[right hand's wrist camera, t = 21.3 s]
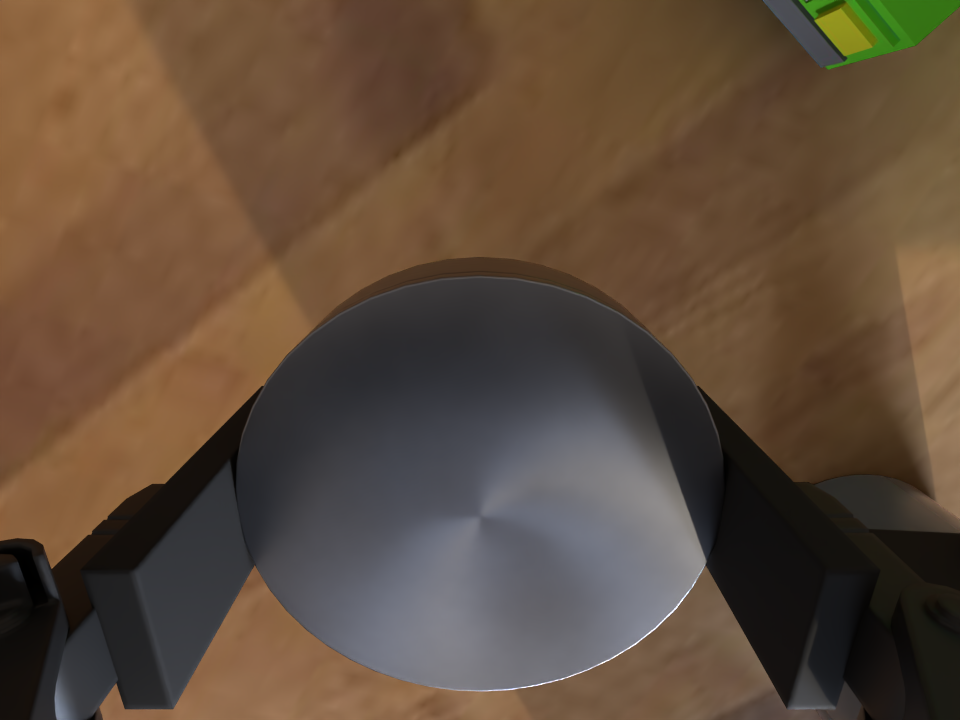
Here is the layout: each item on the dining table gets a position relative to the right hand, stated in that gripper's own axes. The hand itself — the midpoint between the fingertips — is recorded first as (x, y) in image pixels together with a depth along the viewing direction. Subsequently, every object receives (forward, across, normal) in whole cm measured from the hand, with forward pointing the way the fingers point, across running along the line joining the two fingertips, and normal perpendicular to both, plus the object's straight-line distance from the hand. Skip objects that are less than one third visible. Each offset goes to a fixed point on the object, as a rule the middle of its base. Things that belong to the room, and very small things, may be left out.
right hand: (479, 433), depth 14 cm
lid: (-3, 0, 0) cm, 3 cm away
